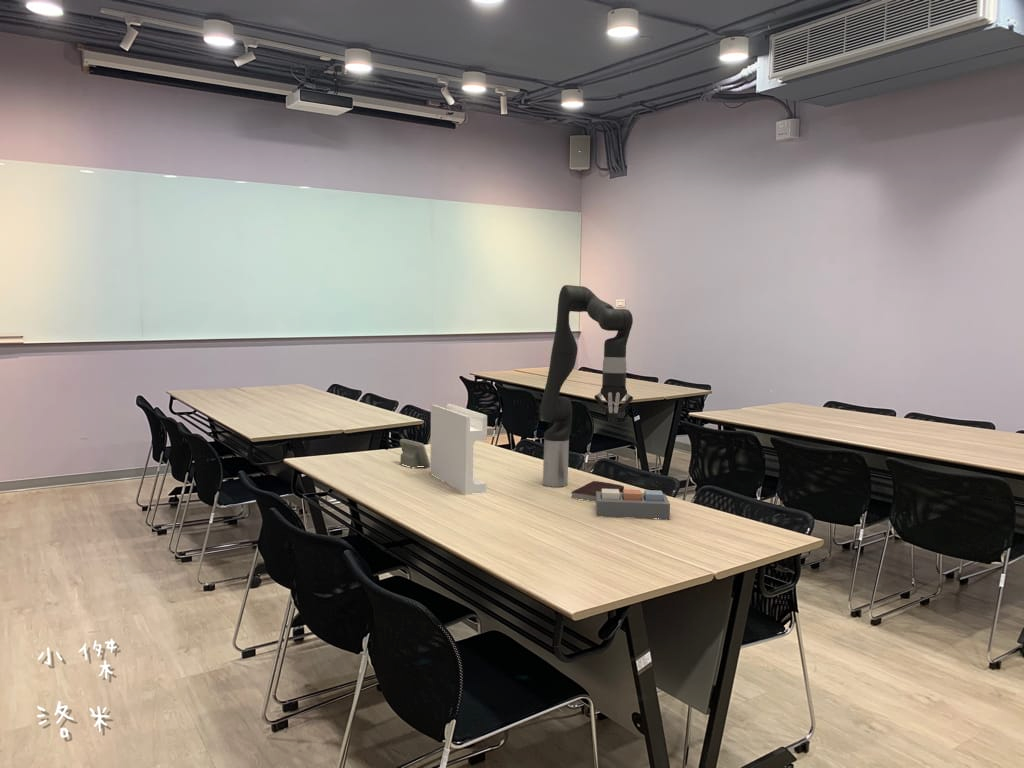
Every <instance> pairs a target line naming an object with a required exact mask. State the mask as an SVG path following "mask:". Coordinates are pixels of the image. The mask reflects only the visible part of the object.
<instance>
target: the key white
mask: <svg viewBox="0 0 1024 768" xmlns="http://www.w3.org/2000/svg"><path fill="white" fill-rule="evenodd" d="M619 498H620V493H619V489H602V495H601V499H618V500H619Z"/></svg>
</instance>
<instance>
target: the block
mask: <svg viewBox="0 0 1024 768" xmlns="http://www.w3.org/2000/svg"><path fill="white" fill-rule="evenodd" d="M487 427H488V415H487V414H484V413H481V412H478V411H474V410H472V409H468V408H464V407H462V406H460V405H459V406H458V405H456V404H452V403H447V404H446V408H445V407H442V406H439V405H436V404H430V459H429V462H430V467H429V468H430V470H429V472H430V473H431V474H433V475H434V476H436V477H438V478H439V479H441V480H443V481H444V482H446V483H447V484H449V485H451V486H453V487H454V488H456V489H458V490H459V491H461V492H463V493H464V495H465V494H470V495H473V494H472V493H480V494H483V493H482V492H486V493H487V490H486V489H487V483H486V482H484V481H483V480H480V479H479V478H477V477H475V476H474V445H475V443H476V442H477V441H478V442H479V441H487V439H488V428H487ZM430 473H429V474H430ZM434 476H433V477H434ZM439 479H438V480H439ZM441 480H440V481H441ZM444 482H443V483H444ZM446 483H445V484H446ZM447 484H446V485H447ZM449 485H448V486H449ZM451 486H450V487H451ZM453 487H452V488H453ZM454 488H453V489H454ZM456 489H455V490H456ZM458 490H457V491H458ZM459 491H458V492H459ZM461 492H460V493H461ZM463 493H462V494H463Z"/></svg>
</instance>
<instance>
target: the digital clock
mask: <svg viewBox="0 0 1024 768" xmlns="http://www.w3.org/2000/svg"><path fill="white" fill-rule="evenodd" d="M399 445H400V448H401V451H402V453H400V465H401V464H404V465H407V466H410V467H417V466H424V467H423V468H425V467H428V468H430V459H429V455H428V453H427V450H426V446H425V444H424V443H422V442H419V441H414V440H410V439H406V438H401V439H400V440H399Z"/></svg>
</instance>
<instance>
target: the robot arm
mask: <svg viewBox="0 0 1024 768" xmlns="http://www.w3.org/2000/svg"><path fill="white" fill-rule="evenodd" d="M570 312H573V313H575V312H576V313H582V312H583V313H584V312H585V313H587V315H588V317H590V318H591V319H592V320H593V321H595V322H597V323H598V325H599V327H600V329H601V330H604V331H608V332H611V331H612V332H616V334H615V336H613V337H609V338H607V339H605V340H604V344H603V362H602V382H601V383H602V385H601V389H600V392H598V393H597V394H595V395H594V397H593V398H594V399H595V401H596V402H597V403H598V405H599V406H600V407H601V409H602V410H603V412H607V413H608V418H607V419H608V423H609V424H610V425H614V426H615V425H616V424H617V423H618V419H619V418H618V414H619V413H621V412H624V410H625V409H626V408H627V407H628V406H629V405H630V403H631V402H632V401H633V400H634V396H632V395H631V394H629V393H628V391H627V345H628V339H629V337H630V334H631V333H630V332H631V330H632V326H633V322H634V320H633V319H634V318H633V315H632V313H631V310H629V309H626V308H615V307H614V306H613V305H611V304H610V303H608V302H606V301H604V300H602V299H600V298H599V297H598V296H597V295H596V294H595V293H594V292H593V291H592V290H590V289H589V288H588V287H586V286H584V285H583V286H582V285H571V284H565V285H562V287H561V289H560V291H559V294H558V301H557V315H556V324H555V325H556V326H555V333H554V336H553V343H552V348H551V355H550V362H549V368H548V374H547V378H546V383H545V387H544V391H543V394H542V399H541V403H540V416H541V419H542V420H543V421H544V422H546V423H553V425H552V426H551V427H550V428H549V429H547V430H545V432H544V435H543V437H544V438H543V439H544V441H543V445H544V446H543V467H542V486H545V485H546V486H547V487H551V486H552V487H551V488H553V487H554V488H562V487H561V486H563V487H566V485H567V486H568V484H569V451H570V450H569V447H570V445H569V443H570V434H571V431H572V422H573V405H572V402H571V400H570V398H569V397H567V396H560V393H561V389H562V386H563V385H564V383H565V381H566V380H567V379H568V378H569V376H570V374H571V373H572V372H573V370H574V368H575V366H576V361H577V356H578V350H579V349H578V344H577V341H576V338H575V337H574V334H573V332H572V330H571V326H570ZM602 396H603V397H602ZM603 398H604V400H605V401H606V402H607V406H608V407H607V406H606V404H605V403H604V402H603V401H602V399H603ZM623 399H624V400H625V401H624V402H623V403H622V404H621V405H620V407H619V404H620V402H622V400H623Z"/></svg>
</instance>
